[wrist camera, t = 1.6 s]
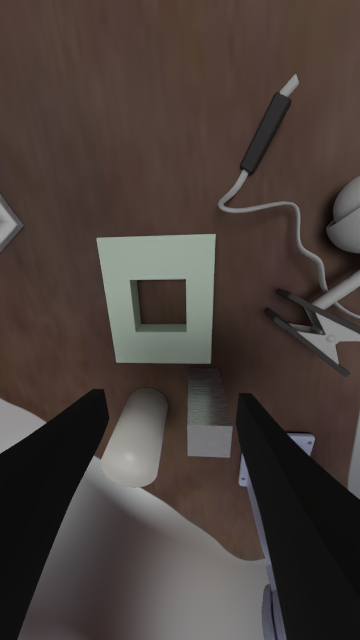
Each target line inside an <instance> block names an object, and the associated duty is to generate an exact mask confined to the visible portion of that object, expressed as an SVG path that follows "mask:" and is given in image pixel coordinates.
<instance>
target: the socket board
mask: <svg viewBox="0 0 360 640" xmlns="http://www.w3.org/2000/svg"><path fill="white" fill-rule="evenodd" d="M215 235H216V234H202V235H171V236H141V237H110V238H97V245H98V251H99V257H100V263H101V269H102V276H103V282H104V288H105V294H106V300H107V306H108V313H109V319H110V325H111V331H112V337H113V344H114V350H115V356H116V362H117V363H191V364H211V344H212V317H213V289H214V262H215ZM160 279H186V313H187V324H141V317H140V307H139V297H138V287H137V280H160Z"/></svg>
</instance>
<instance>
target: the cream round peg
mask: <svg viewBox="0 0 360 640" xmlns="http://www.w3.org/2000/svg"><path fill="white" fill-rule="evenodd" d="M167 409H168V402H167V400H166V398H165V396H164V395H163V394H162V393H160V392H159V391H157V390H155V389H152V388H140V389H137V390H135V391H133V392H132V393H131V394H130V396H129V398H128V400H127V402H126V405H125V407H124V409H123V412H122V414H121V416H120V418H119V421H118V423H117V425H116V427H115V430H114V432H113V434H112V436H111V439H110V441H109V443H108V445H107V448H106V450H105V452H104V455H103V457H102V459H101V462H100V466H101V470H102V472H103V473H104V475H105V476H106V477H107V478H108V479H109V480H111V481H112V482H114V483H116V484H119V485H122V486H125V487H143V486H146V485H149V484H150V483H152V482H153V481H154V480H155V478H156V477H157V473H158V466H159V460H160V454H161V447H162V441H163V434H164V428H165V422H166V415H167Z"/></svg>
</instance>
